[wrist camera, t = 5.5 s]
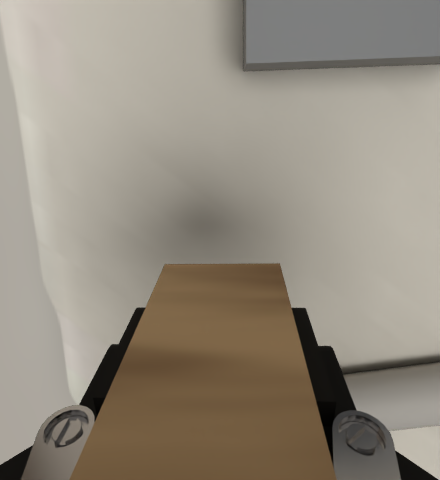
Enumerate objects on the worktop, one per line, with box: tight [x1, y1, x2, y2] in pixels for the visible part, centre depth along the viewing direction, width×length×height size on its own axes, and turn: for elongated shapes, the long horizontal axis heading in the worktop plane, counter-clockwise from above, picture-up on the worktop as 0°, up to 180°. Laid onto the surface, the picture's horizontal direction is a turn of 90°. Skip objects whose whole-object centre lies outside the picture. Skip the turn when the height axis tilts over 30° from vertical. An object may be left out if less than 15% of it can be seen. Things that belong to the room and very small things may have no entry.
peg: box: [69, 264, 337, 480], centre depth 9 cm, size 4×4×10 cm
